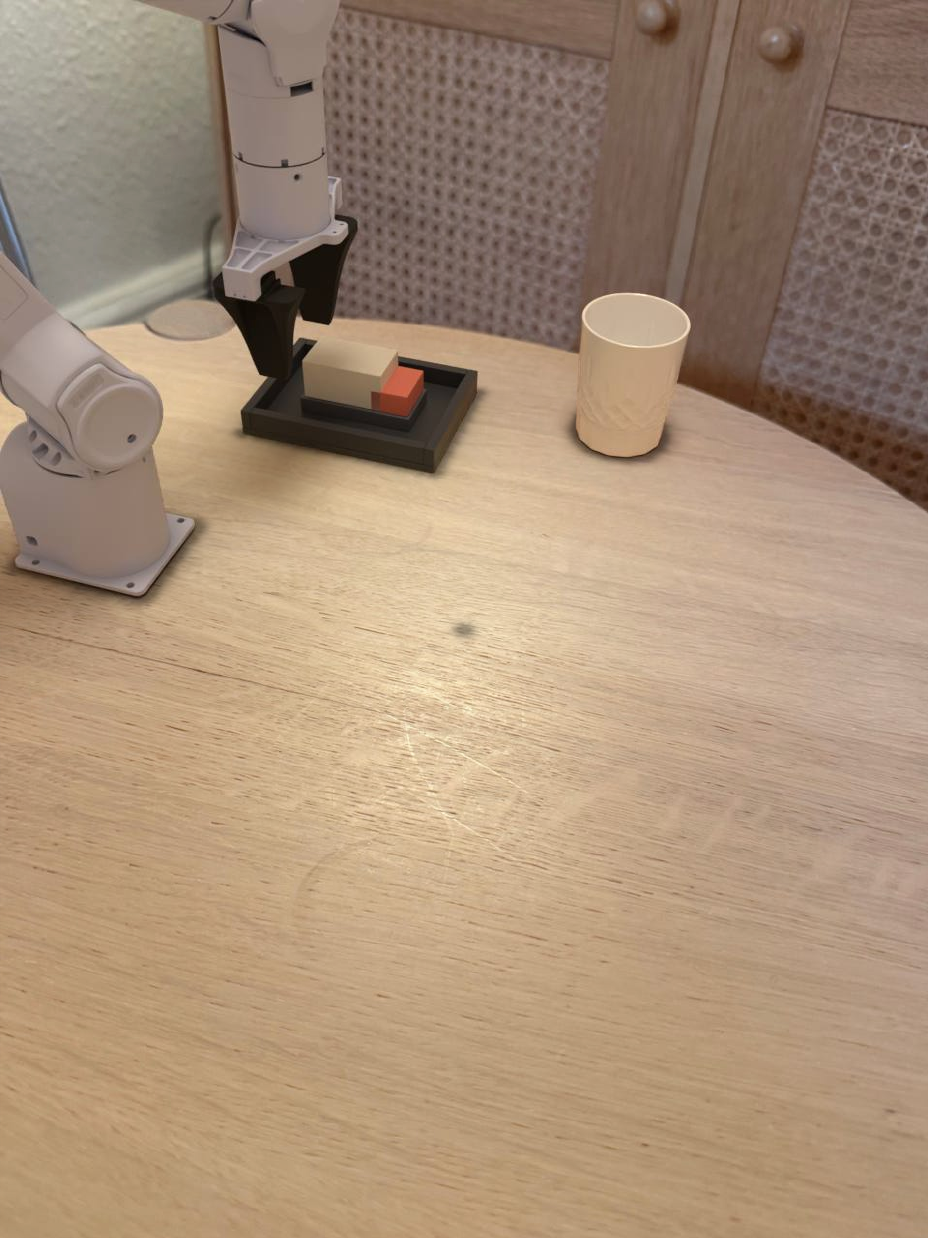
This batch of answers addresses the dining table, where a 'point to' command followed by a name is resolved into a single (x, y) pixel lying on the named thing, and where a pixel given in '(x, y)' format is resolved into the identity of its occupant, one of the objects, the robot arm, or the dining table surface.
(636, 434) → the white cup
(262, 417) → the black rectangular tray
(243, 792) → the dining table surface
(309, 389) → the blocks on dark base
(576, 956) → the dining table surface
